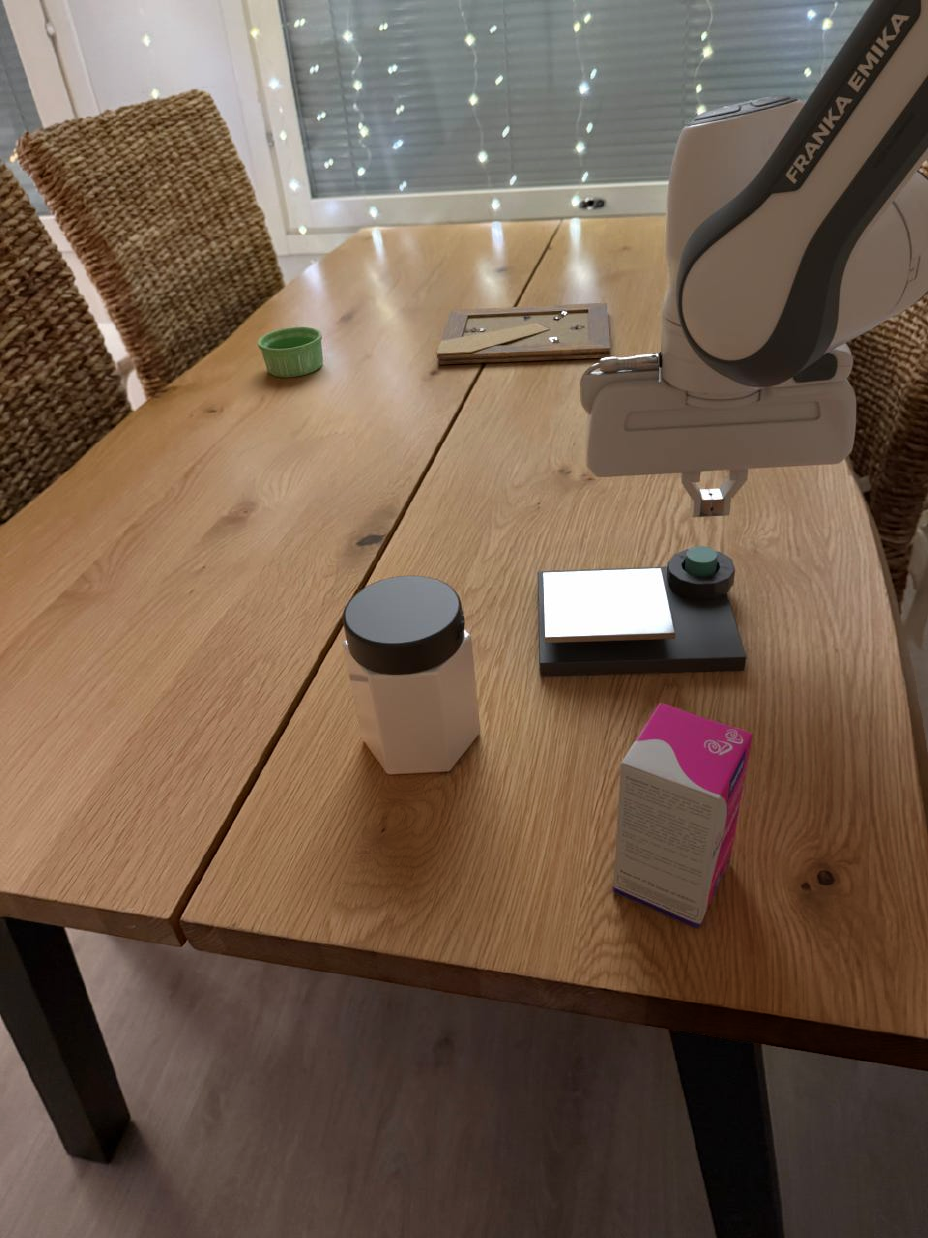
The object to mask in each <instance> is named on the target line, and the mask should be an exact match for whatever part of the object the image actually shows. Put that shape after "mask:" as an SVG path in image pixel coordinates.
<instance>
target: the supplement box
mask: <svg viewBox="0 0 928 1238" xmlns="http://www.w3.org/2000/svg"><path fill="white" fill-rule="evenodd" d="M753 738H754V735H753V733H751V732H749V731H746V730H744V729H741V728H738V727H734V726H732V725H729V724H725V723H722V722H718V721H715V720H712V719H709V718H706V717H703V716H701V715H698V714H695V713H692V712H689V711H687V710H683V709H681V708H677V707H675V706H672V705H669V704H666V703H664V702H660V703H658V705H657V706H656V707H655V709H654V710H653V712H652V713H651V715H650V716H649V718H648V719H647V721H646V723H645V724H644V726H643V727H642V729H641V730H640V732H639V734H638V735H637V737H636V738H635V739H634V742H633V743H632V745H631V746H630V747H629V750H628V752H627V753H626V754H625V755H624V757H623V759H622V761H621V763H620V771H619V772H620V773H619V774H620V775H619V788H618V791H619V793H618V804H617V819H616V835H615V851H614V852H615V853H614V868H613V880H612V887H611V892H612V893H613V894H616V895H618V896H620V897H622V898H625V899H627V900H630V901H631V902H634V903H637V904H639V905H641V906H644V907H646V908H648V909H651V910H653V911H655V912H657V913H660V914H663V915H665V916H667V917H669V918H671V919H673V920H676V921H678V922H681V923H682V924H685V925H687V926H690V927H692V928H695V929H699V928H701V926H702V924H703V921H704V918H705V916H706V913H707V911H708V908H709V906H710V903H711V901H712V899H713V898H714V896H715V893H716V892H717V889H718V886H719V884H720V882H721V880H722V878H723V876H724V874H725V872H726V870H727V868H728V866H729V865H730V862H731V858H732V854H733V853H732V852H733V847H734V843H735V842H734V841H735V838H736V837H735V836H736V829H737V825H738V819H739V814H740V808H741V803H742V797H743V792H744V786H745V781H746V776H747V768H748V764H749V760H750V754H751V748H752V743H753Z"/></svg>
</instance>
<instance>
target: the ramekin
mask: <svg viewBox="0 0 928 1238" xmlns="http://www.w3.org/2000/svg"><path fill="white" fill-rule="evenodd" d="M322 339H323V334H322V331H320V330H319V329H318V328H315V327H311V326H290V327H284V328H280V329H276V330H273V331H270V332H268V333H265V334H264V335H262V336H261V337H260V338H259V339H258V341H257V347H258V348H259V350H260V352H261V355H262V358H263V362H264V364H265V368H266V371H267V372H268V373H269V374H270V375H272V376H274V377H278V378H296V377H302V376H305V375H309V374H311V373H314V372H316V371H317V370H319V369H320V368H321V367H322V365H323V363H324V357H323V349H322V348H323V347H322V346H323V345H322Z"/></svg>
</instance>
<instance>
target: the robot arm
mask: <svg viewBox="0 0 928 1238" xmlns="http://www.w3.org/2000/svg"><path fill="white" fill-rule="evenodd" d="M927 159H928V0H872V1H871V3H870V5H869V6H868V7H867V8H866V10H865V12H864V13H863V15H862V16H861V18H860V19H859V20H858V22H857V24H856V26H855V27H854V28H853V30H852V31H851V33H850V35H849V36H848V37H847V39H846V41H845V42H844V43H843V45H842V46H841V48H840V50H839V51H838V53H837V54H836V56H835V57H834V58H833V60H832V62H831V63H830V65H829V67H828V68H827V69H826V71H825V73H824V74H823V76H822V77H821V79H820V80H819V82H818V83H817V84H816V86H815V88H814V89H813V91H812V92H811V94H810V96H809V97H808V99H806V101H805V103H804V101H802V100H801V99H798V98H796V97H793V96H790V95H771V96H764V97H759V98H754V99H750V100H746V101H741V102H739V103H734V104H731V105H726V106H721V107H718V108H715V109H711V110H707V111H704V112H701V113H700V114H698V115H696V116H694V117H693V118H692V119H691V120H690V121H689V122H688V123H687V124H686V125H685V126H684V127H683V128H682V130H681V132H680V134H679V136H678V139H677V142H676V144H675V148H674V152H673V155H672V160H671V165H670V171H669V177H668V185H667V194H666V204H665V205H666V208H665V221H664V222H665V223H664V255H665V260H666V262H667V267H668V283H667V289H666V292H665V295H664V298H663V301H662V308H661V331H660V332H661V333H660V351H659V352H656V353H646V354H645V353H644V354H643V353H642V354H635V355H630V356H624V357H623V356H622V357H621V356H620V357H618V356H610V357H604V358H599V362H597V363H594V364H591V365H590V366H589V367H588V368H586V369H585V371H584V372H583V373H582V375H581V377H580V380H579V401H580V402H579V403H580V406H581V407H582V409H583V411H584V412H586V413H587V415H586V421H585V433H584V434H585V435H584V458H585V465H586V468H587V469H588V470H589V471H590V472H591V473H592V474H593V475H594V476H595V477H597V478H610V477H611V478H613V477H629V476H630V477H631V476H648V475H649V476H650V475H667V474H679V477H680V481H681V485H682V486H683V488H684V489H685V490H686V492H687V494H688V495H689V497H690V505H689V506H690V513H691V517H692V518H708V517H709V518H710V517H723V516H724V517H729V516H730V513H731V502H732V499H733V498H734V497H735V496H736V495H737V494H738V493H739V491H740V490H741V488H742V487H743V486H744V484H745V483H746V482H747V481H748V476H749V475H748V474H749V470H756V469H775V468H791V467H792V468H793V467H794V468H795V467H809V466H810V467H812V466H813V467H814V466H828V465H829V466H830V465H838V464H841V463H842V462H843V461H845V459H846V458H847V457H848V456H849V455H850V454H851V453H852V451H853V448H854V444H855V436H856V425H857V397H856V392H855V390H854V388H853V386H852V385H851V383H850V381H849V380H848V378H849V376H851V375H850V374H851V373H852V370H853V365H854V357H853V355H852V352H851V350H850V348H849V346H848V344H847V343H849V342H850V341H853V340H854V339H856V338H858V337H860V336H862V335H864V334H865V333H867V332H869V331H871V330H873V329H874V328H876V327H878V326H880V325H881V324H883V323H885V322H887V321H889V320H890V319H892V318H894V317H895V316H898V315H899V314H901V313H902V312H904V311H905V310H907V309H909V308H910V307H911V306H913V305H914V304H916V303H918V302H919V301H920V300H922V299H923V298H924V297H925V296H926V295H927V294H928V176H927V175H925V173H923V172H921V171H920V168H921V167H922V166H923V164H925V162H926V160H927ZM719 471H726V473H727V475H726V477H725V478H724V480H723V481H722V482H721V484H720V486H719V487H718V488H699V486H698V483H699V482H700V481H701V473H702V472H719Z"/></svg>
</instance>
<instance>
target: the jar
mask: <svg viewBox="0 0 928 1238" xmlns="http://www.w3.org/2000/svg"><path fill="white" fill-rule="evenodd" d="M342 623H343V630H344V633H345V640H343V643H342V649H343V654H344V657H345V663H346V667H347V673H348V677H349V683H350V686H351V687H350V688H351V692H352V697H353V701H354V707H355V713H356V717H357V722H358V727H359V730H360V736H361V739H362V741H363V742H364V743H365V745H366V746H367V748H368V749H369V751H370V752H371V753H372V755H373V756H374V758H375V759H376V760H377V762H378V763H379V765H380V766H381V767H382V769H383V771H384V772H385V773H386V774H387V775H407V774H408V775H409V774H427V773H428V774H429V773H448V772H450V771H452V769H453V768H454V767H455V765H456V764H457V763H458V761H459V760H460V759H461V758H462V756H463V755H464V754H465V753H466V751H467V750H468V748H469V747H470V746H471V745H472V744H473V743H474V741H475V740H476V738H478V736H479V735H480V733H481V723H480V711H479V701H478V692H477V691H478V690H477V681H476V672H475V671H476V670H475V662H474V661H475V660H474V650H473V640H472V635H471V634H470V632H468V631H467V629H465V625H466V623H465V614H464V609H463V605H462V600H461V597H460V595H459V594H458V592H457V591H456V590H455V589H454V588H453V587H452V586H451V585H449V584H448V583H446V582H444V581H442V580H439V579H437V578H434V577H430V576H422V575H401V576H400V575H399V576H392V577H389V578H385V579H381V580H377V581H375V582H373V583H371V584H369V585H367V586H365V587H363V588H362V589H360V590H359V591H357V592H356V593H355V594H354V595H353V596H352V597H351V598H350V599H349V600H348V602H347V603H346V605H345V606H344V609H343V611H342Z"/></svg>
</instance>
